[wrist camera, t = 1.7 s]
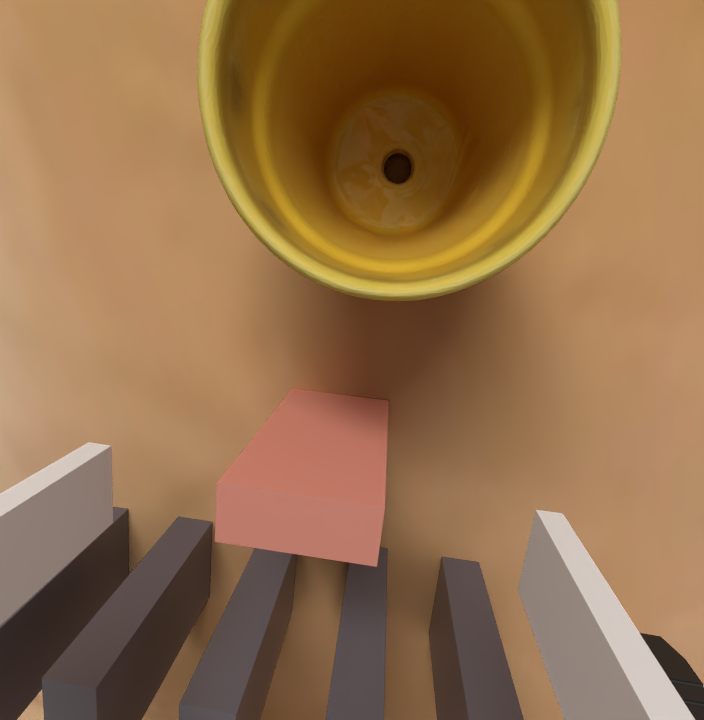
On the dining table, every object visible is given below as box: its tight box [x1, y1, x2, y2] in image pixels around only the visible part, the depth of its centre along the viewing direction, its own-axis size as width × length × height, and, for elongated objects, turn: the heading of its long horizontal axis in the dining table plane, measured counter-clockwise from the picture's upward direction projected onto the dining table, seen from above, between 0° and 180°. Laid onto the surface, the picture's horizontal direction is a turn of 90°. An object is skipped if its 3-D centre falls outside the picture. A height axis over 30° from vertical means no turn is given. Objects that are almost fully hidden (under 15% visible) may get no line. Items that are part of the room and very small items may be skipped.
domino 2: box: [41, 517, 212, 720], centre depth 21 cm, size 2×5×10 cm, turn 174°
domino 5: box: [326, 547, 388, 720], centre depth 20 cm, size 2×5×10 cm, turn 174°
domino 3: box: [179, 548, 297, 720], centre depth 20 cm, size 2×5×10 cm, turn 174°
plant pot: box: [197, 0, 621, 301], centre depth 15 cm, size 10×10×10 cm
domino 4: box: [215, 388, 389, 567], centre depth 18 cm, size 2×5×10 cm, turn 84°
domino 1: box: [0, 507, 129, 720], centre depth 21 cm, size 2×5×10 cm, turn 174°
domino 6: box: [429, 557, 524, 720], centre depth 20 cm, size 2×5×10 cm, turn 174°
